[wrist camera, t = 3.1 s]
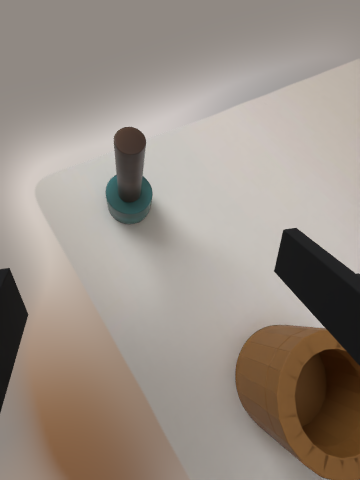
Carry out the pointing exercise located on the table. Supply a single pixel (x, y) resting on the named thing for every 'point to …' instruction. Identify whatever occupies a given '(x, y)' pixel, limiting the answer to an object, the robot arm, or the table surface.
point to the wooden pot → (304, 396)
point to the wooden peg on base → (129, 178)
